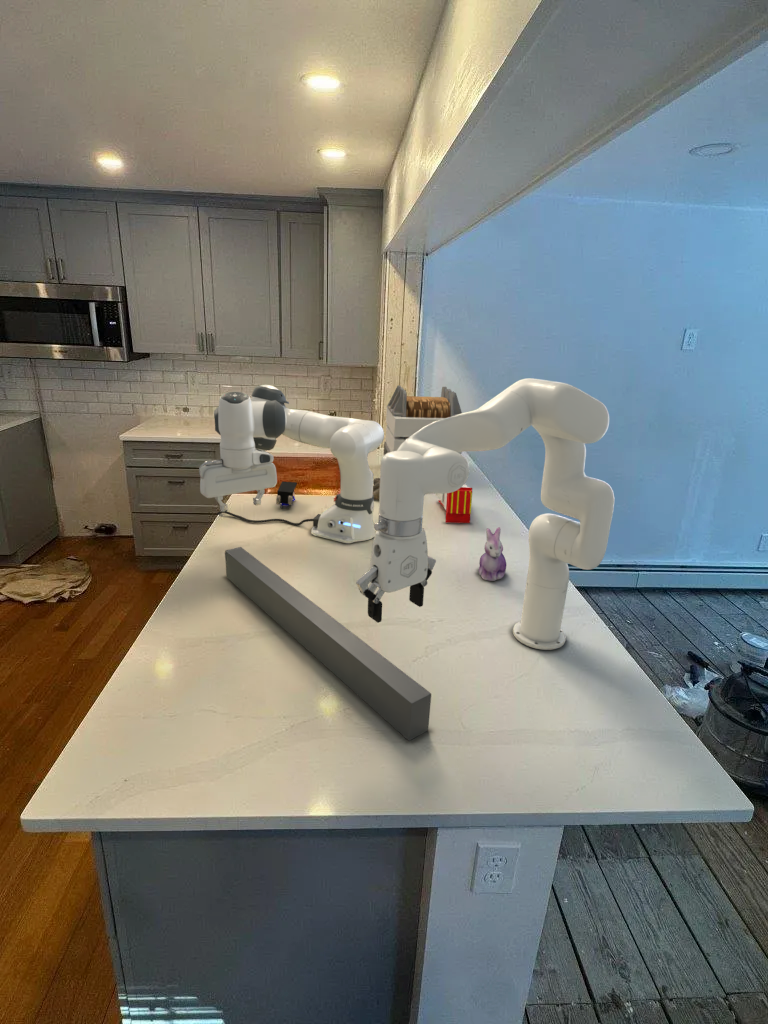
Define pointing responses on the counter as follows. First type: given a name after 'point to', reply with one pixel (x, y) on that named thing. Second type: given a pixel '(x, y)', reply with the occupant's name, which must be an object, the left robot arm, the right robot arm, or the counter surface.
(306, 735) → the counter surface
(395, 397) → the grey slatted crate stand
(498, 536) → the figurine
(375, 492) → the fossil
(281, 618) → the bar
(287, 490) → the figurine character
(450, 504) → the toy
